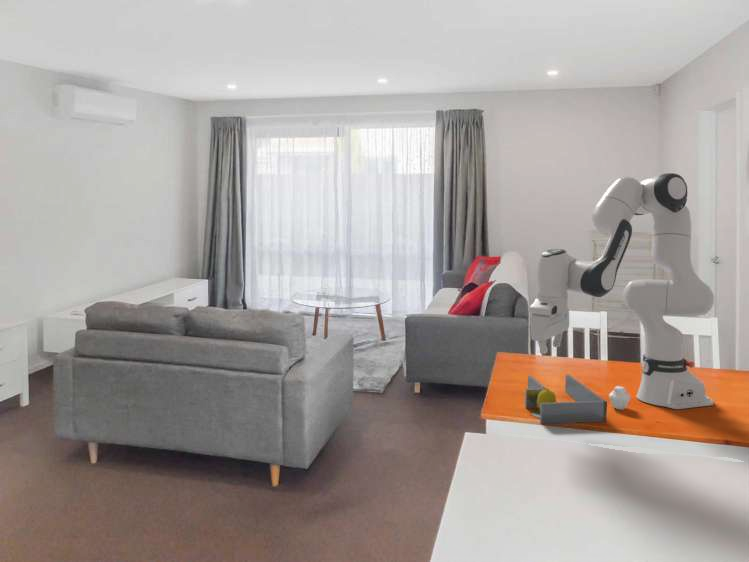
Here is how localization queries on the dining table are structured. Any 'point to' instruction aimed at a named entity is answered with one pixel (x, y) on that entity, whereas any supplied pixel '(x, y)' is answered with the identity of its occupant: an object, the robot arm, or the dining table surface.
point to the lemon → (545, 397)
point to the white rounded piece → (619, 397)
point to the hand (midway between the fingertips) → (550, 349)
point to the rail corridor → (567, 404)
